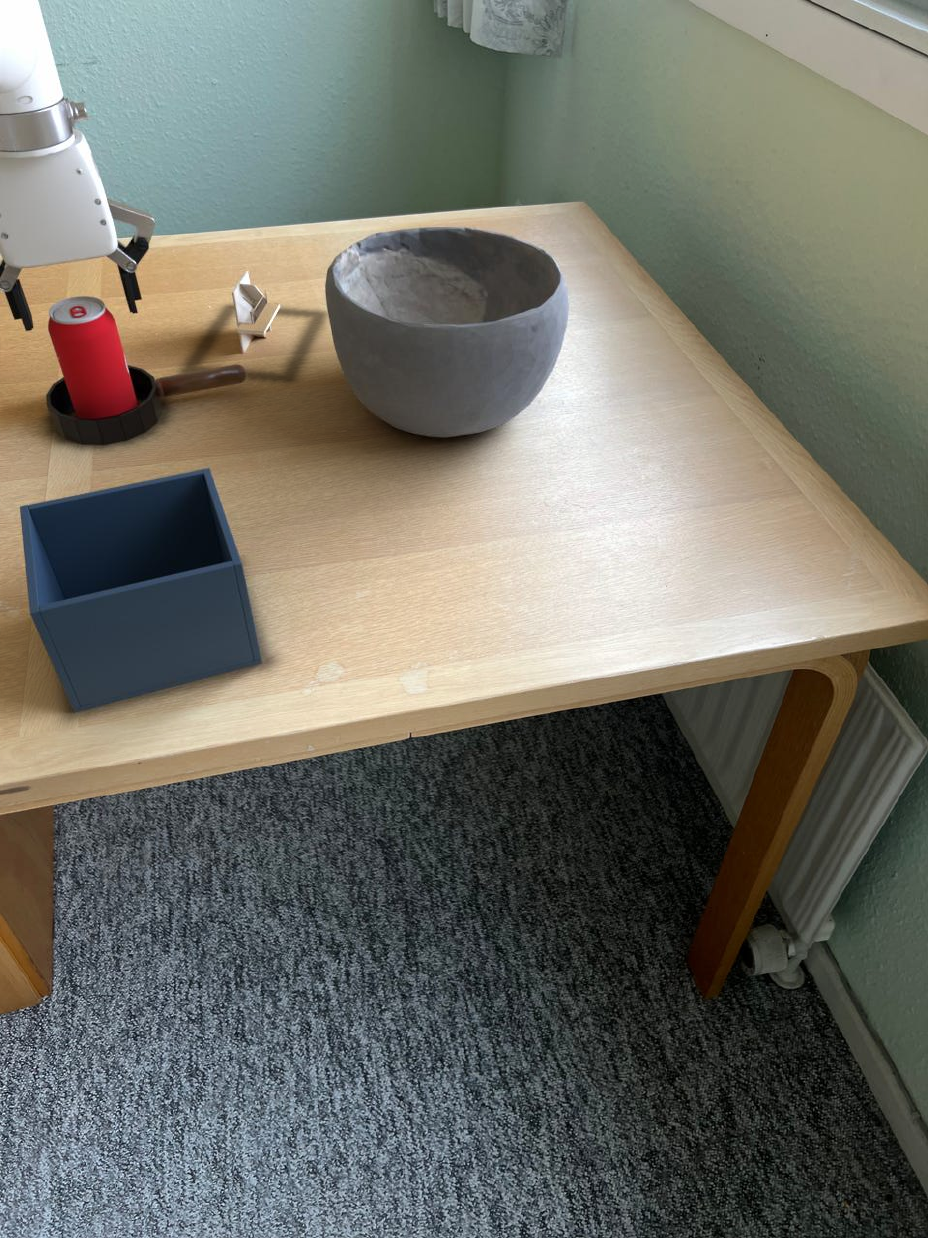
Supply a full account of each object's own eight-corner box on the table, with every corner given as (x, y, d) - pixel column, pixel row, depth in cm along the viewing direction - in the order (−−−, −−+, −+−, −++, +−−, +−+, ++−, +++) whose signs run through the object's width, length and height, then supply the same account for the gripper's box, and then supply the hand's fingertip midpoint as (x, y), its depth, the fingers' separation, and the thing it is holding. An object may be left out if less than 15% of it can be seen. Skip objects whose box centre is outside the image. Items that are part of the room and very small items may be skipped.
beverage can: (132, 394, 100) (104, 288, 91) (145, 424, 96) (117, 315, 87) (73, 408, 98) (38, 300, 89) (83, 438, 94) (48, 329, 85)
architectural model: (284, 332, 110) (276, 271, 105) (268, 361, 105) (259, 299, 100) (256, 330, 110) (246, 269, 105) (238, 359, 105) (228, 297, 100)
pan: (59, 454, 92) (49, 427, 89) (51, 399, 99) (42, 372, 96) (261, 415, 97) (256, 389, 95) (239, 366, 104) (235, 340, 102)
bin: (74, 714, 69) (29, 613, 61) (60, 606, 77) (19, 506, 69) (262, 664, 73) (242, 563, 65) (231, 566, 80) (209, 467, 73)
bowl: (385, 332, 110) (380, 203, 100) (583, 370, 105) (599, 239, 94) (291, 441, 94) (272, 302, 83) (519, 494, 89) (530, 352, 78)
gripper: (123, 99, 81) (166, 284, 94) (-89, 121, 77) (-16, 312, 89) (135, 126, 77) (178, 318, 89) (-91, 152, 72) (-13, 350, 84)
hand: (81, 315), depth 89 cm, fingers open, 9 cm apart
